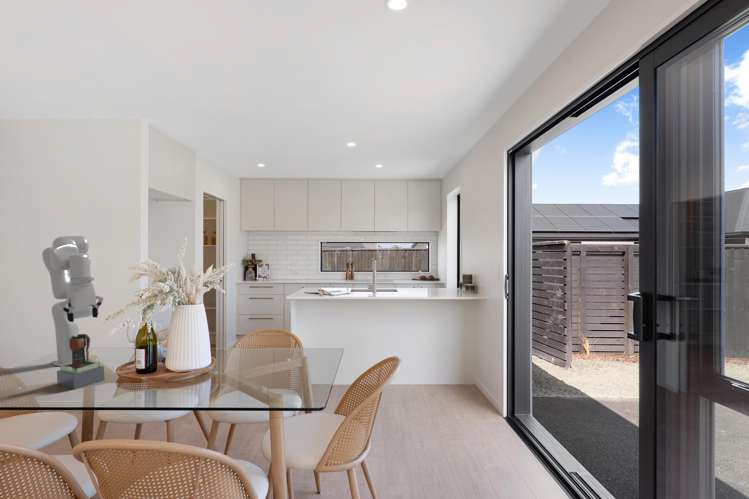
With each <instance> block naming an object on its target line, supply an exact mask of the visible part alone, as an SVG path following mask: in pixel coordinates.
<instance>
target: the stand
mask: <svg viewBox="0 0 749 499" xmlns="http://www.w3.org/2000/svg"><path fill="white" fill-rule="evenodd" d="M85 361H86V364H87V366H83V367H79V368H72V363H70V364H66V365H63V366H59V370H56V379H57V385H58V386H60V387H64V388H68V389H71V390H77V389H81V388H84V387H87V386H89V385H93V383H94V384H96V383H99V382H103V381H105V380H106V379H105V368H104V366H102V365H101V363H100V362H98V361H94V360H91V359H89V362H87V359H85Z"/></svg>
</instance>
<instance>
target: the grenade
mask: <svg viewBox="0 0 749 499" xmlns="http://www.w3.org/2000/svg"><path fill="white" fill-rule="evenodd" d="M69 339H70V338H69ZM69 344H70V349H71V351H72V368H79V367H83V366H87V364H86V361H85V360H87V362H89V360H90V349H89V348H90V344H91V337H90V336H89V335H88V334H86V333H79V335H77V337H76V336H72V337H71V339H70V340H69Z"/></svg>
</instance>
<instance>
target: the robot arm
mask: <svg viewBox="0 0 749 499" xmlns="http://www.w3.org/2000/svg"><path fill="white" fill-rule="evenodd" d="M89 246H90V245H89V241H88V239H87V238H86V237H85V236H83V235H71V236H69V235H67V236H65V235H64V236H59V237H56V238H54V240H53V241H52V246H51V247H50V246H49V247H47V248H45V249H43V250H42V253H41V257H42V261H43V262H42V263H43V264H44V266H45V268H46V269H47V271H48V273H49V277H50V282H51V289H52V295H53V297H54V298H55V300H64V301H59V302H56V303H54V304H53V305H52V306H51V316H52V319H53V323H54V329H55V330H54V331H55V332H54V333H55V343H56V344H55V345H56V357H57V360H56V361H54V362H53V365H54V366H55V367H60V366H63V365H66V364H70V363H72V351H71V349H70V344H69V340H70V339H71V337H72V336H76V337H77V335H79V334H80V331H79V327H78V325H77V324H76V323H75V322H74V321H75V319H76V320H77V319H83V318H87V317H91V316H92V317H93V318H98V315H99V308H100V306H101V305H102V304H103V303H102V302H103V301H104V297H101V296H98V295H96V291H95V286H94V283H92V281H94V280H95V278H94V277H92V276H91V256H90V255H89V254H88V251H89ZM69 338H70V339H69Z"/></svg>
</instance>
